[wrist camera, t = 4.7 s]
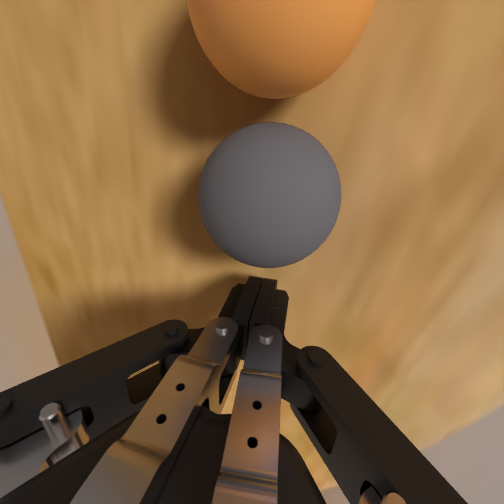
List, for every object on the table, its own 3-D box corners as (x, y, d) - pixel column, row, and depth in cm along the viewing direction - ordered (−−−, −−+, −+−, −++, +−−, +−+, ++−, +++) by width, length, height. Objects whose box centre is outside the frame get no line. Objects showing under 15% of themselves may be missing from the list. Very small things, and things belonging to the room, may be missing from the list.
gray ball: (173, 271, 11) (214, 197, 14) (305, 312, 11) (311, 228, 15) (175, 135, 7) (231, 84, 11) (383, 201, 7) (363, 126, 11)
